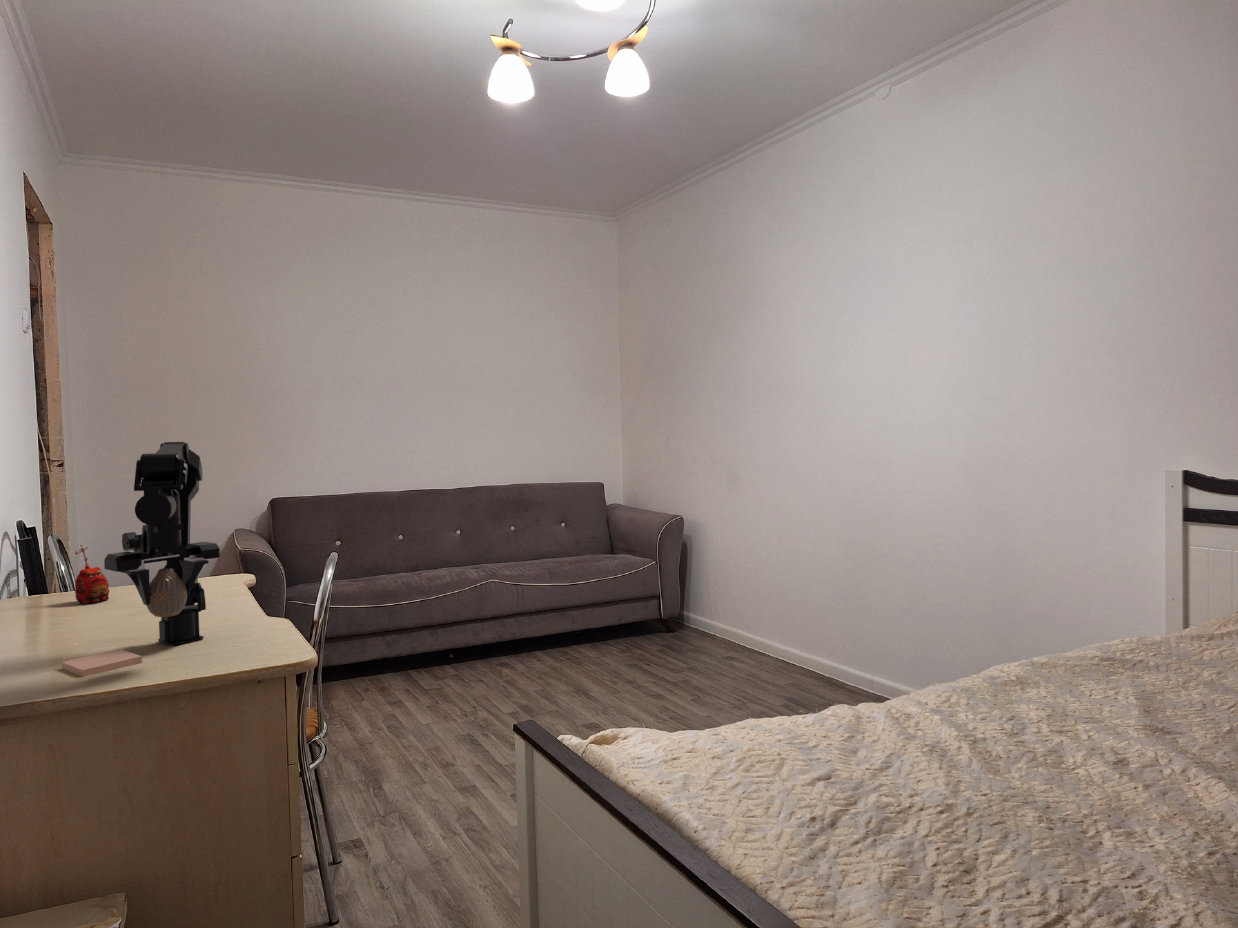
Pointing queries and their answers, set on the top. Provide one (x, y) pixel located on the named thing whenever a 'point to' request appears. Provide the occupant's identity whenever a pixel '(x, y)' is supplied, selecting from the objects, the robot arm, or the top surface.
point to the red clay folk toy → (90, 584)
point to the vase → (166, 594)
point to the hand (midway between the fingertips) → (166, 600)
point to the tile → (101, 662)
